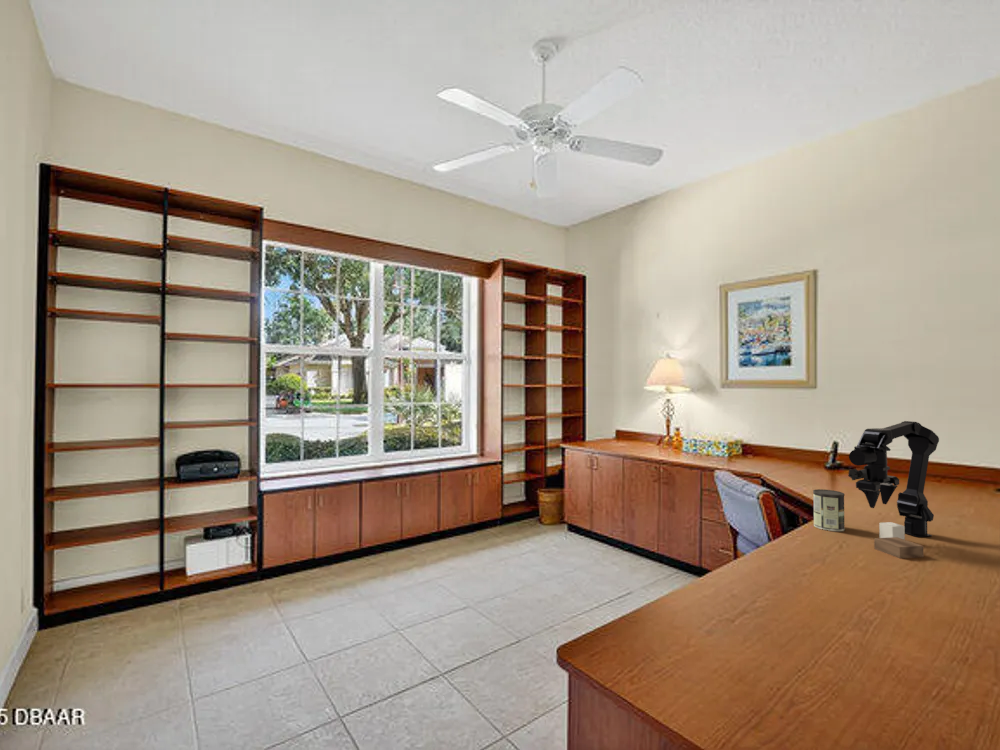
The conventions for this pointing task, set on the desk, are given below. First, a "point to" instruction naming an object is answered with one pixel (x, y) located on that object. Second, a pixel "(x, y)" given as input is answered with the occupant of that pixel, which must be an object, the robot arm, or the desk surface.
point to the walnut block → (898, 547)
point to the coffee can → (829, 510)
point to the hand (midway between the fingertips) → (878, 505)
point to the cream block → (891, 530)
